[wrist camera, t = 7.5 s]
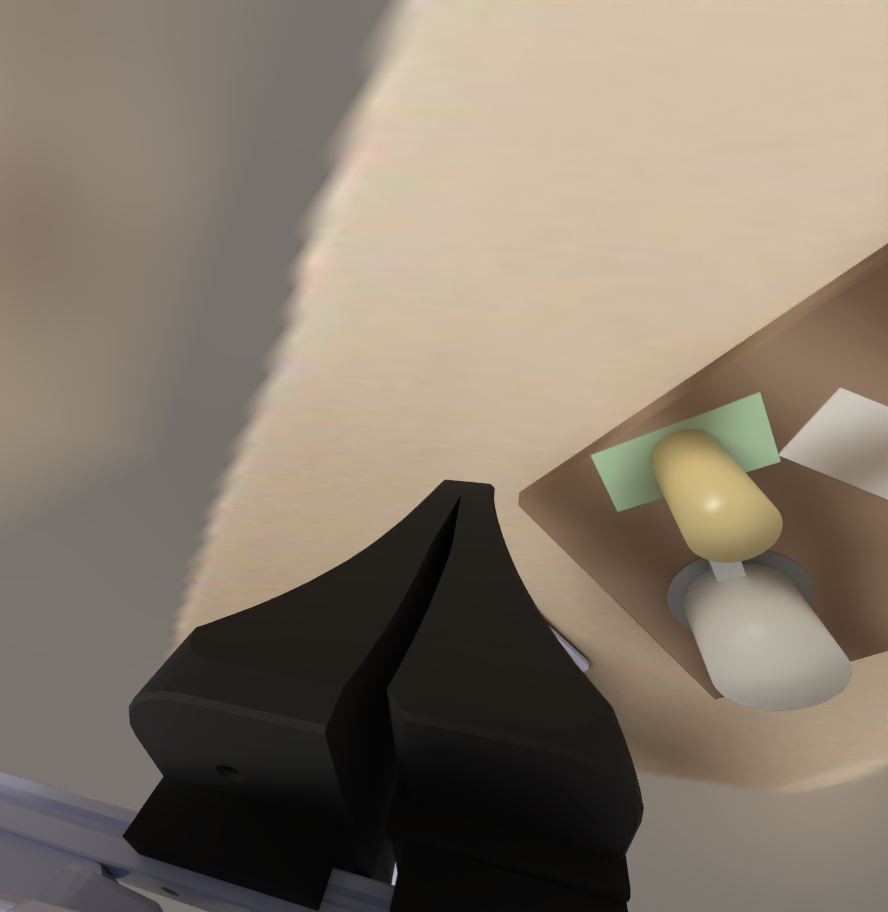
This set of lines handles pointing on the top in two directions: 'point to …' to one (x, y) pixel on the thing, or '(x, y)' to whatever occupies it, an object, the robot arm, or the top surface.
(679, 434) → the peg lever
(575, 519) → the brown flat square board
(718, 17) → the top surface
